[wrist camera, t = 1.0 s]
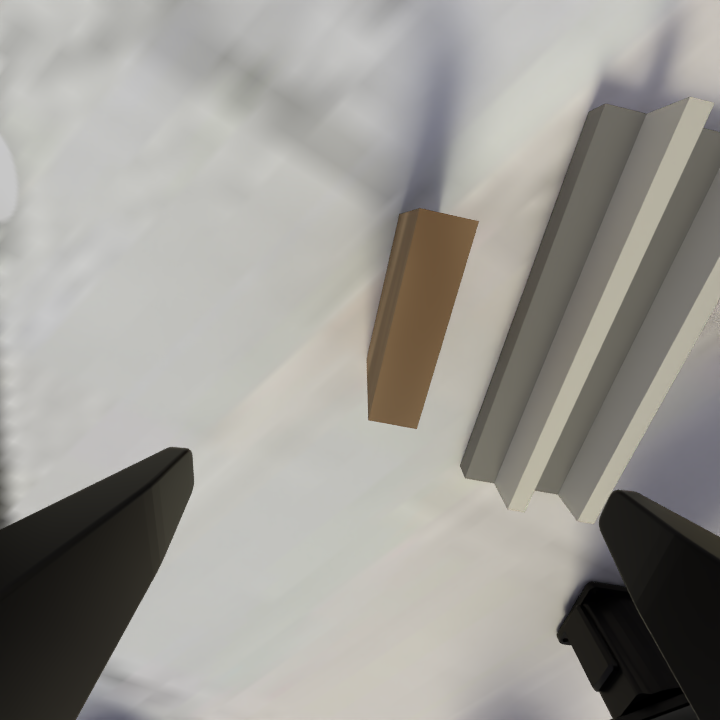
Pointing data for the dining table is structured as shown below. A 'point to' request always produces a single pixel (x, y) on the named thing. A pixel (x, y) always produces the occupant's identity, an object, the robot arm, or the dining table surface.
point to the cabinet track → (605, 308)
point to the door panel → (415, 312)
